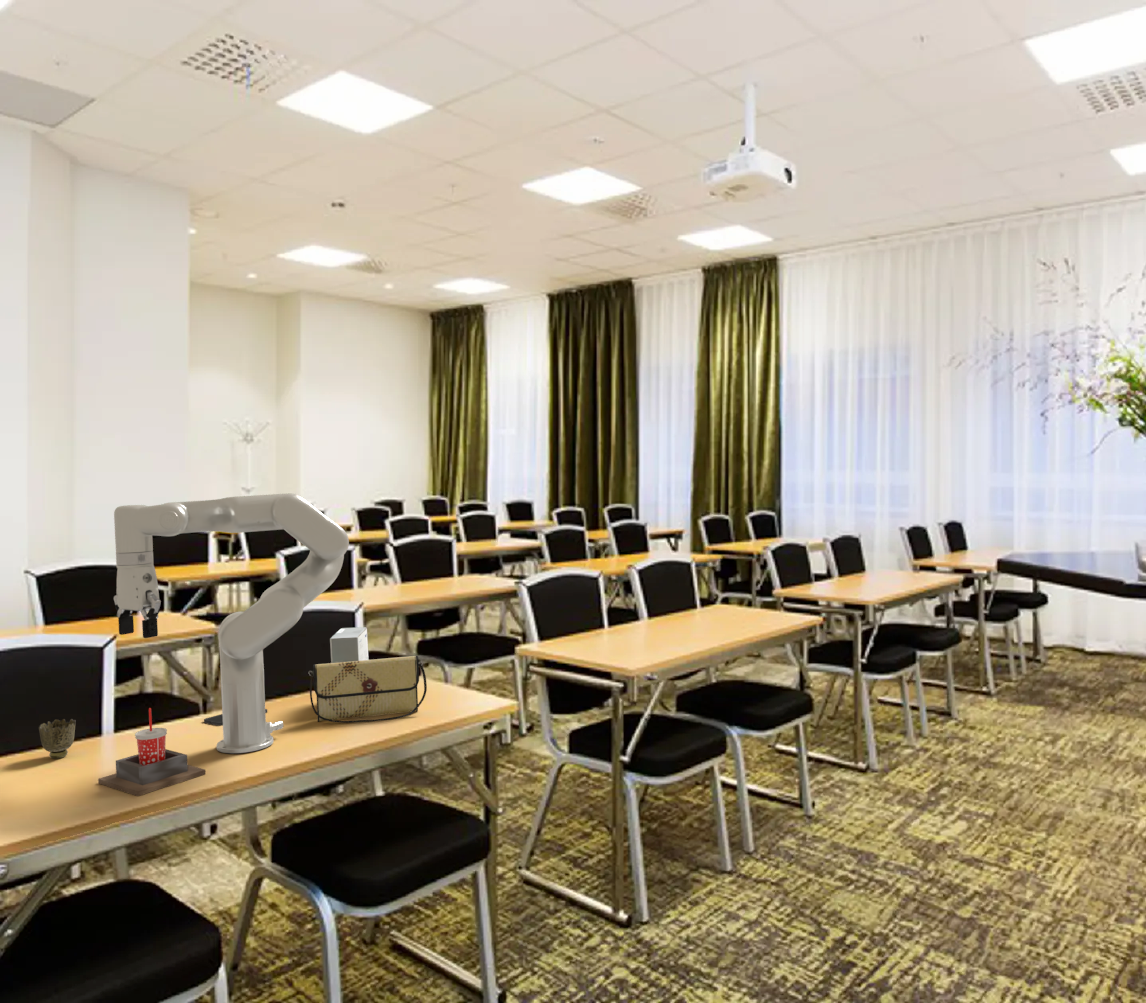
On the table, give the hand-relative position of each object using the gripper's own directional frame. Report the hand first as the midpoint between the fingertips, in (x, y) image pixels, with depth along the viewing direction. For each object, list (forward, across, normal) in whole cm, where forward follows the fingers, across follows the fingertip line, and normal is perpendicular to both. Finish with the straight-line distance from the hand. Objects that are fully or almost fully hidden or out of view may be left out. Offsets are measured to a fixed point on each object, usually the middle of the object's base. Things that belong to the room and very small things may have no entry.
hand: (138, 635), depth 202 cm
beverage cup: (+28, -14, +6) cm, 32 cm away
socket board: (+28, -14, +6) cm, 32 cm away
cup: (+28, +20, +9) cm, 36 cm away
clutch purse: (+29, -20, -50) cm, 61 cm away
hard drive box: (+29, -4, -58) cm, 65 cm away
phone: (+29, +13, -33) cm, 46 cm away
